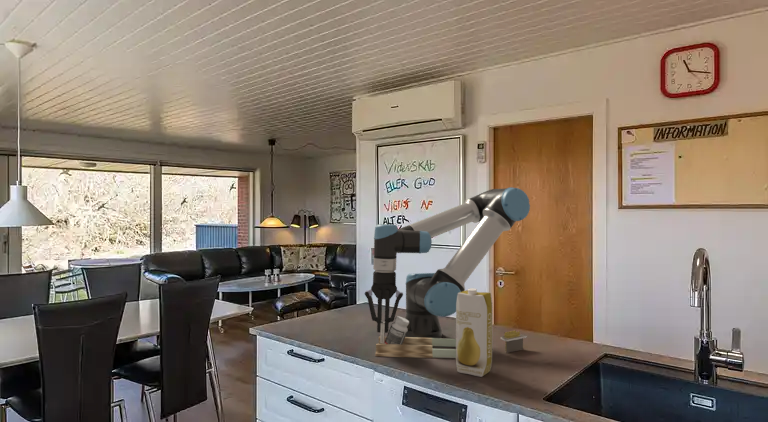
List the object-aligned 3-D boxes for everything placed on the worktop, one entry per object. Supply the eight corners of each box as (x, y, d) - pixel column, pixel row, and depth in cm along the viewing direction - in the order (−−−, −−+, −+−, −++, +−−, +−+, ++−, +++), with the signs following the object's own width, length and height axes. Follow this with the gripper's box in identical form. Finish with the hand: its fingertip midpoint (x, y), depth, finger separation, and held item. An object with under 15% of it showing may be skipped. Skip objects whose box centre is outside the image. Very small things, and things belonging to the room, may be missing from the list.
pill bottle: (390, 342, 168) (401, 315, 167) (403, 350, 164) (414, 323, 164) (380, 342, 163) (391, 315, 163) (393, 351, 160) (404, 323, 159)
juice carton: (452, 372, 141) (453, 288, 141) (464, 365, 148) (465, 285, 148) (483, 379, 136) (484, 291, 136) (494, 371, 142) (495, 288, 142)
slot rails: (431, 344, 170) (431, 336, 170) (432, 357, 155) (432, 348, 155) (379, 343, 172) (379, 334, 172) (375, 356, 156) (375, 346, 156)
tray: (473, 346, 168) (473, 339, 168) (477, 358, 155) (477, 350, 155) (431, 345, 170) (431, 337, 170) (432, 357, 156) (432, 349, 156)
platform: (480, 351, 164) (480, 331, 164) (517, 343, 174) (517, 325, 174) (507, 360, 154) (507, 339, 154) (545, 351, 164) (545, 332, 164)
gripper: (363, 271, 161) (361, 344, 161) (403, 273, 159) (401, 346, 159) (366, 268, 168) (364, 338, 168) (404, 270, 167) (402, 340, 167)
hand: (382, 342), depth 164 cm, fingers closed
